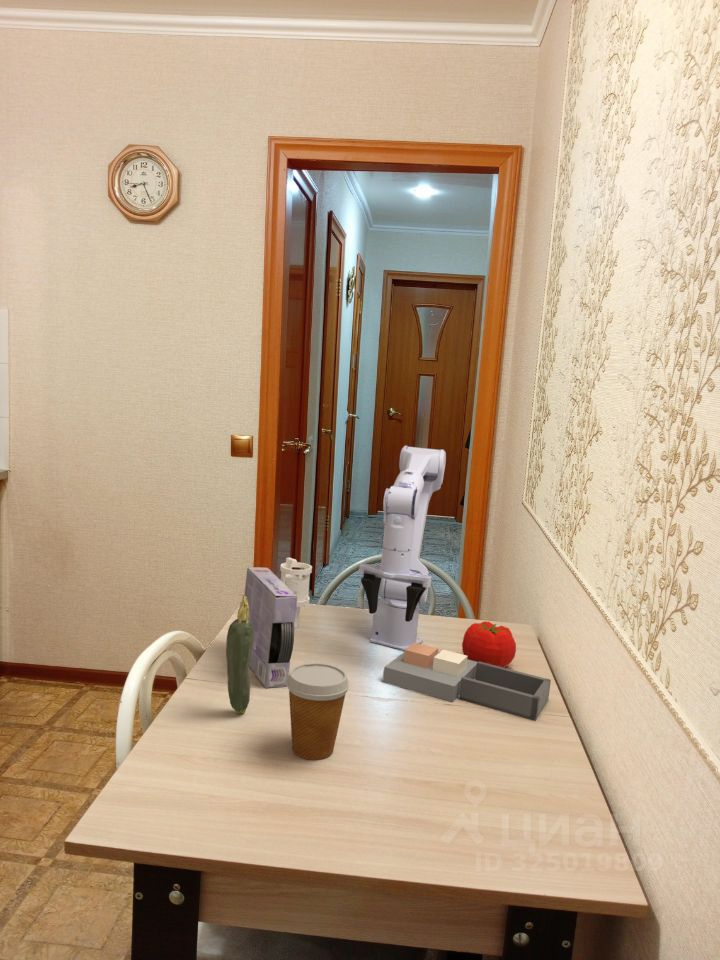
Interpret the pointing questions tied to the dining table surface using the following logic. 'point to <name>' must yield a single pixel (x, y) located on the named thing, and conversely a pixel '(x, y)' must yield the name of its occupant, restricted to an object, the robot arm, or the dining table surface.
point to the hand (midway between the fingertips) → (390, 616)
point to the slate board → (426, 678)
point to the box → (506, 690)
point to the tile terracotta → (420, 655)
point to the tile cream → (450, 663)
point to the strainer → (297, 583)
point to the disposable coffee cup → (315, 708)
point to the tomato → (489, 644)
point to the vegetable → (239, 658)
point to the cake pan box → (270, 625)
